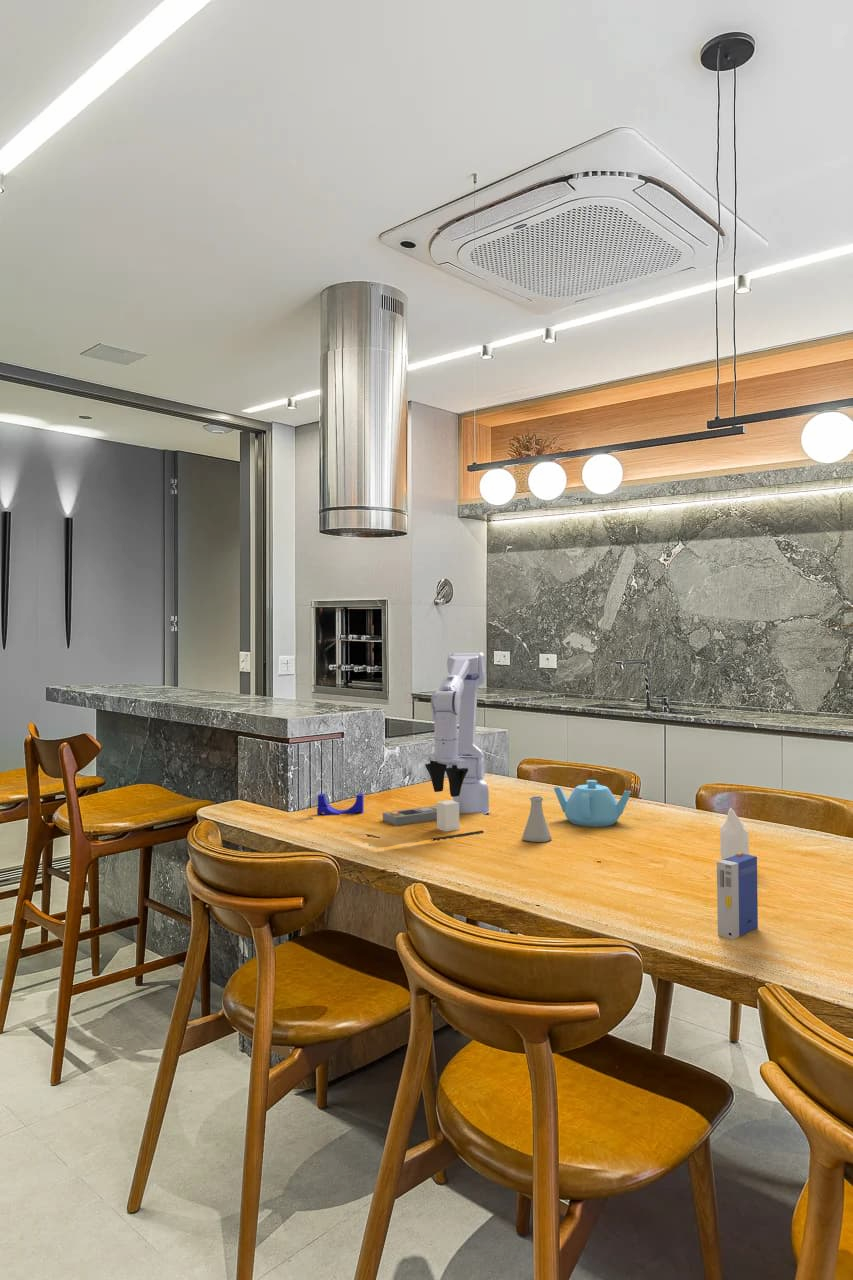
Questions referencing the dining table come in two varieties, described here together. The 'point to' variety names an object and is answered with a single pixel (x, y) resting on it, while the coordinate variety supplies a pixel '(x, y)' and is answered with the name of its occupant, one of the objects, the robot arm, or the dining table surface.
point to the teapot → (592, 805)
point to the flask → (536, 823)
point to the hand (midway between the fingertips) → (446, 793)
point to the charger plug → (448, 815)
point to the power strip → (411, 815)
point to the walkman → (737, 895)
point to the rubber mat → (459, 835)
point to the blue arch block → (328, 810)
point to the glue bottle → (733, 837)
